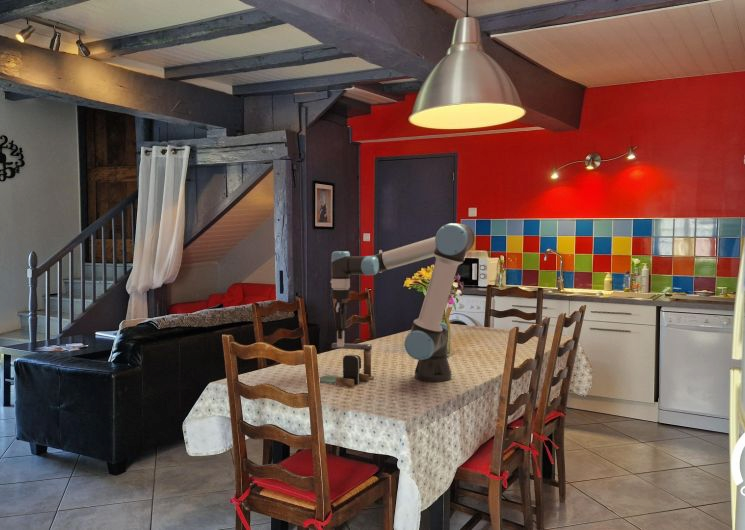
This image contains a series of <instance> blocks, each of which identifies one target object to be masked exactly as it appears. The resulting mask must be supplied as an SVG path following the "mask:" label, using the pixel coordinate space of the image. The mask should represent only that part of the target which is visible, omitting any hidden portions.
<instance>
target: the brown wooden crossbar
mask: <svg viewBox="0 0 745 530" xmlns="http://www.w3.org/2000/svg"><path fill="white" fill-rule="evenodd" d="M372 348H373V347H372V344H370V343H365V344H364V343H345V342H344V347H337V342H333V343H331V349H342V350H360V351H361V350H363V351H364V350H371V351H372V350H373V349H372Z"/></svg>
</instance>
